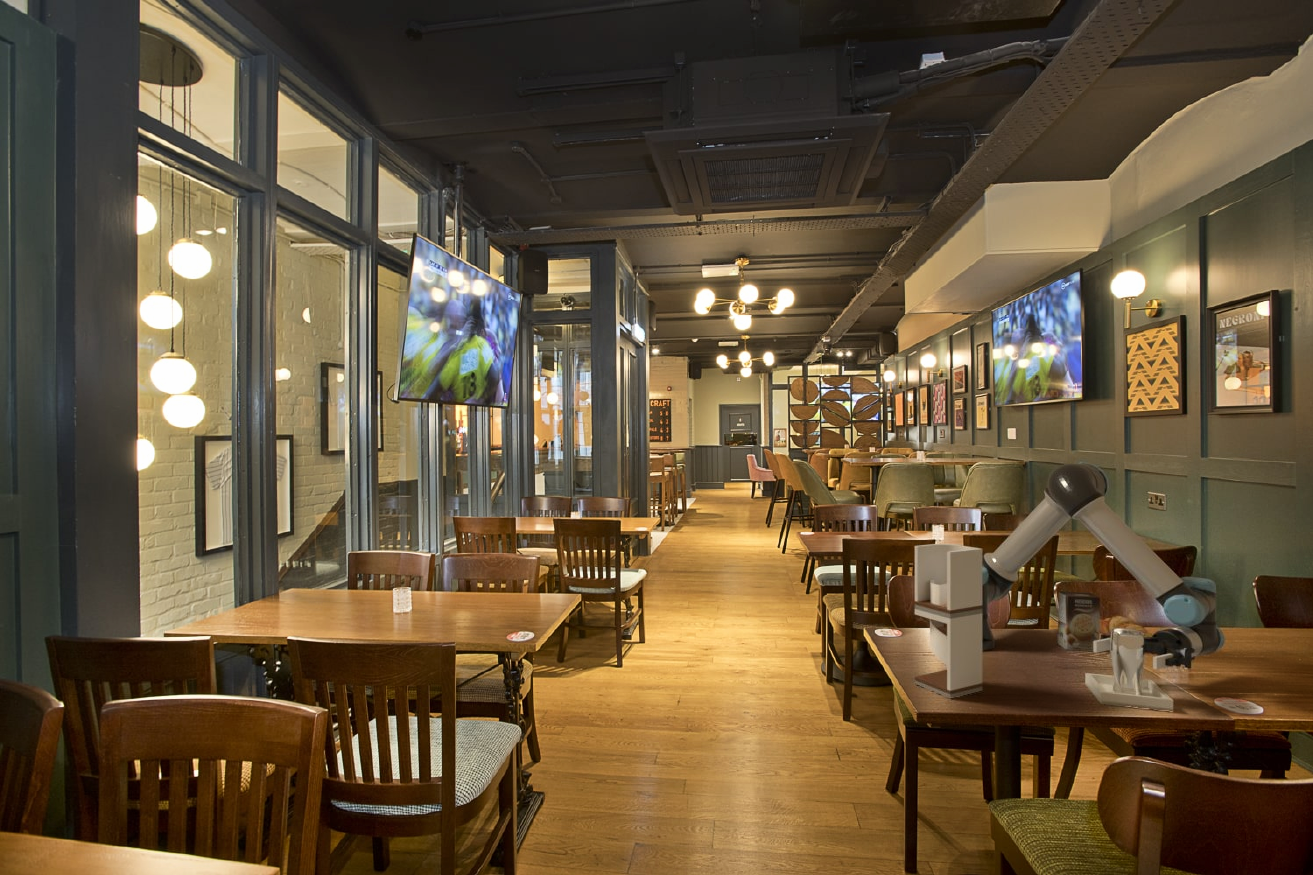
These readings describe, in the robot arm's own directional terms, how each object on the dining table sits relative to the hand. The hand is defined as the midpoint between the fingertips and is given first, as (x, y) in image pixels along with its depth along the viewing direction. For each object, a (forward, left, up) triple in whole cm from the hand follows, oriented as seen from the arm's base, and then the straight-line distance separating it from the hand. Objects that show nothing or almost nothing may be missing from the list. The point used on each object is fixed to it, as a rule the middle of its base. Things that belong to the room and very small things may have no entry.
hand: (1123, 654), depth 160 cm
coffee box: (0, +42, -11) cm, 43 cm away
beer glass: (+1, +1, -10) cm, 10 cm away
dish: (+1, +1, -10) cm, 11 cm away
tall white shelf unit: (-39, -7, -11) cm, 41 cm away
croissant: (+16, +59, -11) cm, 62 cm away
